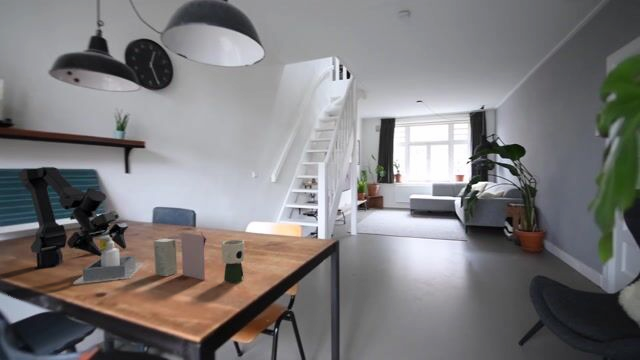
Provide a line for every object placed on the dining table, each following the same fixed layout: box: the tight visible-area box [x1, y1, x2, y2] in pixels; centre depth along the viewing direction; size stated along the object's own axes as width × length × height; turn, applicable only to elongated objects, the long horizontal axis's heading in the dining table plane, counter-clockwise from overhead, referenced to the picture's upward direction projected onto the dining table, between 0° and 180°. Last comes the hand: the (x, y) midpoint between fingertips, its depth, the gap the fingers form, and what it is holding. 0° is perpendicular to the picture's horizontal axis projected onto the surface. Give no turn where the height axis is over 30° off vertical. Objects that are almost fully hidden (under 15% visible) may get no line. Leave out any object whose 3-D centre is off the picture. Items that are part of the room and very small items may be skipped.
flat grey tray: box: [72, 255, 144, 286], centre depth 103 cm, size 16×16×4 cm
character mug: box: [221, 239, 246, 283], centre depth 95 cm, size 11×7×13 cm, turn 171°
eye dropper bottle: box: [100, 239, 121, 267], centre depth 103 cm, size 4×6×12 cm
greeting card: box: [181, 229, 207, 281], centre depth 99 cm, size 11×7×15 cm, turn 26°
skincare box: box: [153, 238, 178, 277], centre depth 102 cm, size 6×4×12 cm
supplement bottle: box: [99, 235, 116, 253], centre depth 132 cm, size 5×5×10 cm
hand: (113, 251), depth 102 cm, fingers open, 9 cm apart
